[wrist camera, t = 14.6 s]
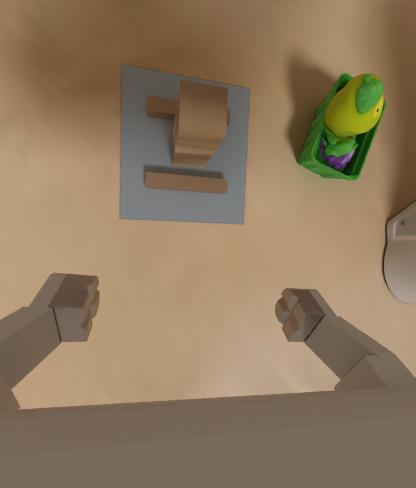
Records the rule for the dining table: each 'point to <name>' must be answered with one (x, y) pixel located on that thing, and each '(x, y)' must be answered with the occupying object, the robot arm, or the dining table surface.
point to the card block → (198, 123)
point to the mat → (160, 155)
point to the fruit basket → (344, 127)
